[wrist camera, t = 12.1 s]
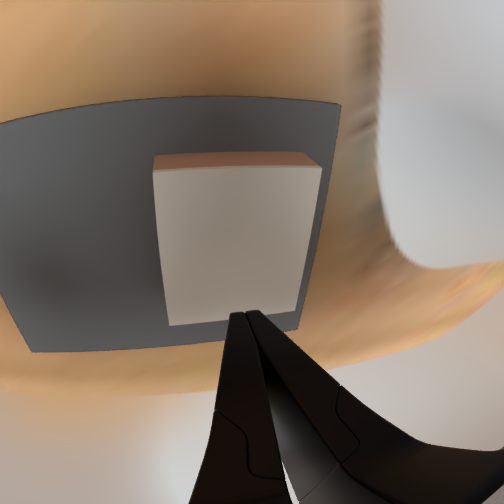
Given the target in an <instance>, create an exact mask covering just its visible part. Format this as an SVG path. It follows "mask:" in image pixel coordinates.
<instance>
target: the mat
mask: <svg viewBox="0 0 504 504" xmlns="http://www.w3.org/2000/svg"><path fill="white" fill-rule="evenodd" d="M340 112H341V105H339V104H337V103H329V102H321V101H311V100H300V99H288V98H273V97H253V96H183V97H162V98H148V99H136V100H125V101H116V102H108V103H100V104H92V105H86V106H79V107H73V108H67V109H61V110H56V111H51V112H46V113H41V114H36V115H32V116H27V117H23V118H19V119H15V120H11V121H7V122H3V123H0V294H1V296H2V298H3V300H4V302H5V304H6V306H7V308H8V310H9V312H10V314H11V316H12V318H13V320H14V322H15V323H16V325H17V327H18V329H19V331H20V333H21V334H22V336H23V338H24V340H25V341H26V343H27V345H28V347H29V348H30V350H31V352H86V351H109V350H126V349H141V348H154V347H165V346H176V345H186V344H196V343H205V342H214V341H222V340H225V339H226V332H227V326H228V320H222V321H213V322H204V323H194V324H184V325H174V326H169V320H168V313H167V307H166V300H165V292H164V285H163V277H162V269H161V261H160V252H159V243H158V233H157V223H156V212H155V199H154V185H153V165H154V156H155V155H168V154H184V153H206V152H254V151H267V152H303V153H304V154H306V155H307V156H308V157H309V158H311V159H312V160H313V161H314V162H316V163H317V164H318V165H319V166H320V167H322V173H321V179H320V185H319V191H318V196H317V202H316V208H315V213H314V219H313V224H312V230H311V235H310V240H309V245H308V250H307V256H306V261H305V266H304V270H303V275H302V280H301V285H300V290H299V294H298V299H297V304H296V308H295V311H290V312H283V313H276V314H269V315H265V316H266V317H267V318H268V319H269V320H270V321H272V322H273V323H274V324H275V325H276V326H277V327H278V328H279V329H280V330H281V331H282V332H285V331H291V330H297V329H298V325H299V321H300V317H301V313H302V309H303V304H304V300H305V296H306V292H307V287H308V283H309V279H310V274H311V270H312V265H313V260H314V256H315V251H316V246H317V242H318V237H319V232H320V227H321V222H322V217H323V212H324V207H325V201H326V196H327V191H328V185H329V180H330V174H331V168H332V162H333V157H334V150H335V144H336V138H337V132H338V125H339V119H340Z"/></svg>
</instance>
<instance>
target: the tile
mask: <svg viewBox="0 0 504 504" xmlns="http://www.w3.org/2000/svg"><path fill="white" fill-rule="evenodd" d="M321 173H322V167H320V166H319V165H318V164H317V163H316V162H314V161H313V160H312V159H311V158H309V157H308V156H307V155H306V154H304V153H303V152H267V151H254V152H206V153H184V154H168V155H155V156H154V165H153V185H154V199H155V212H156V223H157V233H158V243H159V252H160V261H161V269H162V277H163V285H164V292H165V300H166V307H167V313H168V320H169V326H174V325H184V324H194V323H204V322H213V321H222V320H229V315H230V313H232V312H241V311H243V312H245V311H249V310H260V311H261V312H262V313H263V314H264V315H269V314H276V313H283V312H290V311H295V308H296V304H297V299H298V294H299V290H300V285H301V280H302V275H303V270H304V266H305V261H306V256H307V250H308V245H309V240H310V235H311V230H312V224H313V219H314V213H315V208H316V202H317V196H318V191H319V185H320V179H321Z"/></svg>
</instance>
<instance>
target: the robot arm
mask: <svg viewBox="0 0 504 504" xmlns="http://www.w3.org/2000/svg"><path fill="white" fill-rule="evenodd" d="M281 459H282V460H281ZM282 462H283V464H284V467H285V469H286V472H287V474H288V477H289V479H290V482H291V484H292V487H293V489H294V491H295V494H296V497H297V499H298V501H300V502H299V504H504V447H502V448H501V449H500V450H497V451H478V450H468V449H459V448H451V447H444V446H436V445H431V444H427V443H424V442H422V441H419V440H417V439H415V438H413V437H412V436H409V435H408V434H407V433H405V432H404V431H402V430H401V429H399V428H398V427H396V426H395V425H393V424H392V423H390V422H388V421H387V420H386V419H384V418H382V417H381V416H380V415H378V414H377V413H375V412H374V411H373V410H371V409H370V408H368V407H367V406H366V405H364V404H363V403H362V402H361V401H359V400H358V399H357V398H356V397H355V396H353V395H352V394H351V393H350V392H349V391H348V390H346V389H345V388H344V387H343V386H342V385H341V386H340V384H339V383H338V382H337V381H336V380H335V379H334V378H333V377H332V376H330V375H329V374H328V373H327V372H326V371H325V370H324V369H323V368H322V367H321V366H319V365H318V364H317V363H316V362H315V361H314V360H313V359H312V358H311V357H309V356H308V355H307V354H306V353H305V352H304V351H303V350H302V349H301V348H300V347H299V346H297V345H296V344H295V343H294V342H293V341H292V340H291V339H290V338H289V337H288V336H287V335H286V334H284V333H283V332H282V331H281V330H280V329H279V328H278V327H277V326H276V325H275V324H274V323H273V322H272V321H270V320H269V319H268V318H267V317H266V316H265V315H264V314H263V313H262V312H261V311H260V310H249V311H245V312H243V311H241V312H232V313H230V315H229V320H228V326H227V332H226V339H225V345H224V351H223V357H222V363H221V370H220V376H219V382H218V389H217V395H216V402H215V408H214V413H213V420H212V426H211V431H210V436H209V441H208V444H207V448H206V451H205V456H204V459H203V461H202V465H201V468H200V471H199V474H198V477H197V480H196V483H195V486H194V489H193V492H192V495H191V498H190V501H189V504H293V503H292V501H291V498H290V495H289V492H288V488H287V484H286V481H285V474H284V470H283V465H282Z"/></svg>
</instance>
